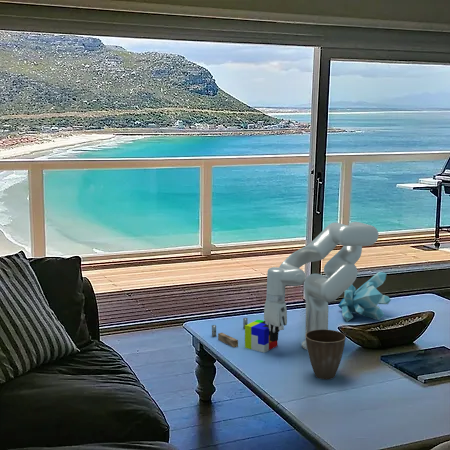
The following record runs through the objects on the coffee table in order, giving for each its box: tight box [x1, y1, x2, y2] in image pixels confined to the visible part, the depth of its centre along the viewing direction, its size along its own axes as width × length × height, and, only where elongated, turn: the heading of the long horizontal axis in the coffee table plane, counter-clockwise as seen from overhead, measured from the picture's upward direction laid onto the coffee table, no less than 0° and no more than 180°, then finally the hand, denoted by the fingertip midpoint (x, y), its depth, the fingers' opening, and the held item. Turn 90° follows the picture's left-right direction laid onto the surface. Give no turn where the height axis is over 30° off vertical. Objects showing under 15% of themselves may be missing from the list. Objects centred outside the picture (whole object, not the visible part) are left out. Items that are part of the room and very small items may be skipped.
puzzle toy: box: [244, 319, 278, 353], centre depth 279 cm, size 10×10×10 cm
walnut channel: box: [217, 332, 239, 348], centre depth 289 cm, size 12×20×3 cm, turn 125°
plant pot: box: [306, 329, 346, 381], centre depth 247 cm, size 15×15×16 cm
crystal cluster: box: [337, 271, 392, 322], centre depth 315 cm, size 22×26×21 cm
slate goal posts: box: [211, 317, 249, 338], centre depth 298 cm, size 2×20×5 cm, turn 125°
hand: (273, 340), depth 270 cm, fingers closed
